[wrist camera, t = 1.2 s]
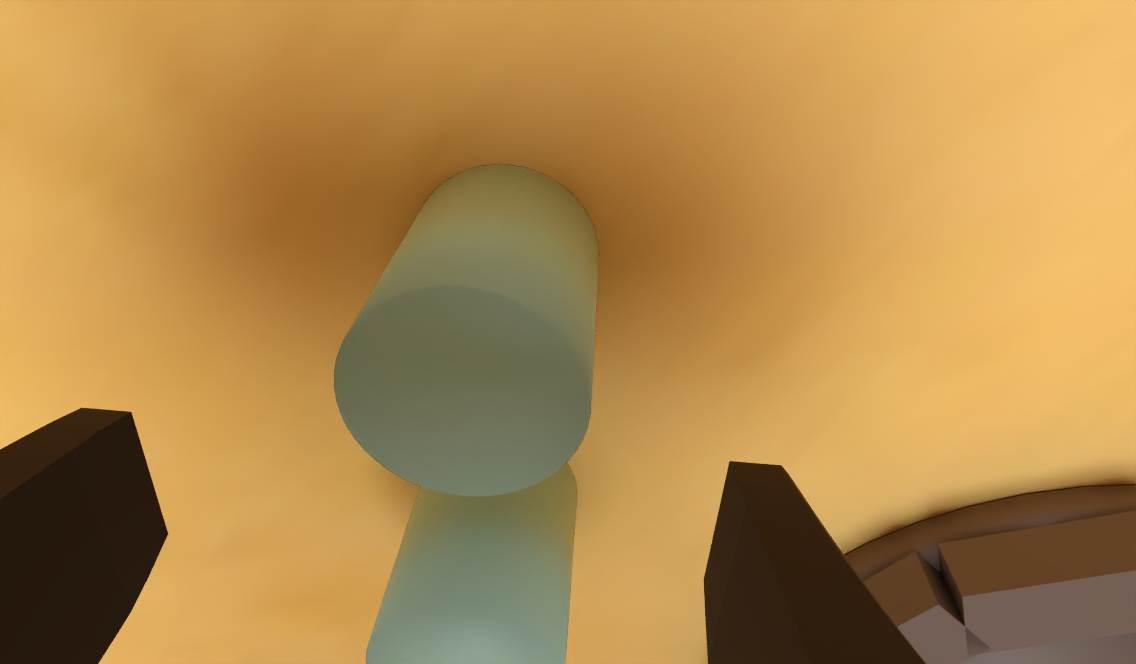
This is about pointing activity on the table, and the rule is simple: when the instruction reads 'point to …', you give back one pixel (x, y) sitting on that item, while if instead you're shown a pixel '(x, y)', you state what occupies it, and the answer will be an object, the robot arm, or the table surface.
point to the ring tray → (1014, 579)
